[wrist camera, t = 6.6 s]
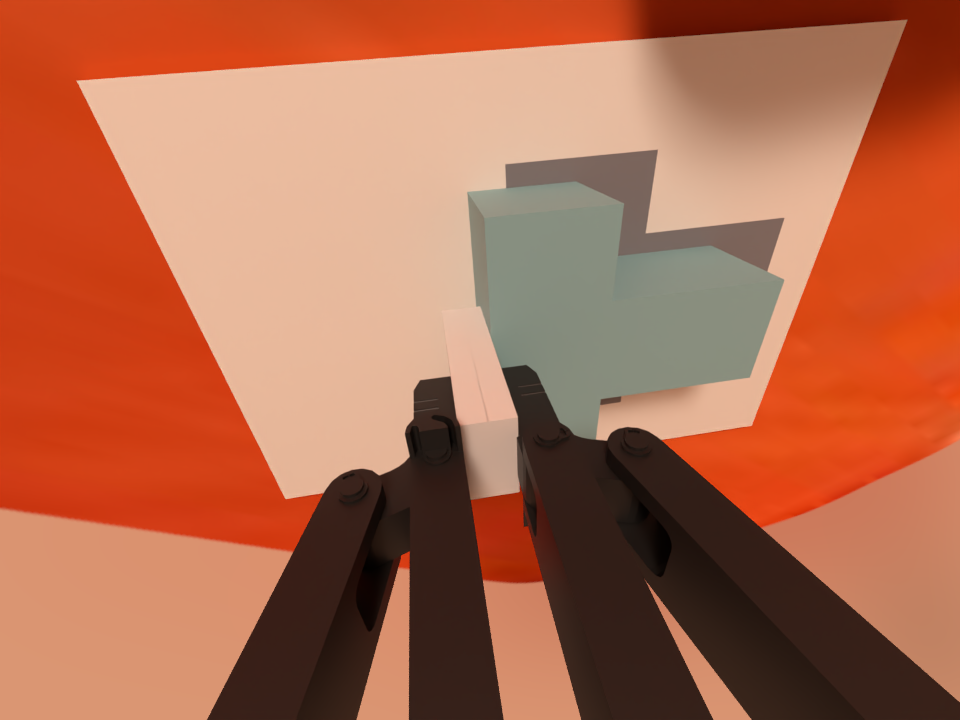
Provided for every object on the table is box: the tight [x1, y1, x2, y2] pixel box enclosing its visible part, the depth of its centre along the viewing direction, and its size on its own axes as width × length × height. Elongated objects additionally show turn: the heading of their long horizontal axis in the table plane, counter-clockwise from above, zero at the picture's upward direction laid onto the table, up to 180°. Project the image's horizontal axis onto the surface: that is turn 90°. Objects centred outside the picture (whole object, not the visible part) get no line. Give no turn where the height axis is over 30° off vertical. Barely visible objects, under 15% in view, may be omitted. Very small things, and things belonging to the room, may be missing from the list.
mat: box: [77, 20, 907, 499], centre depth 18 cm, size 18×26×1 cm
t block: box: [467, 181, 784, 440], centre depth 16 cm, size 10×10×4 cm
